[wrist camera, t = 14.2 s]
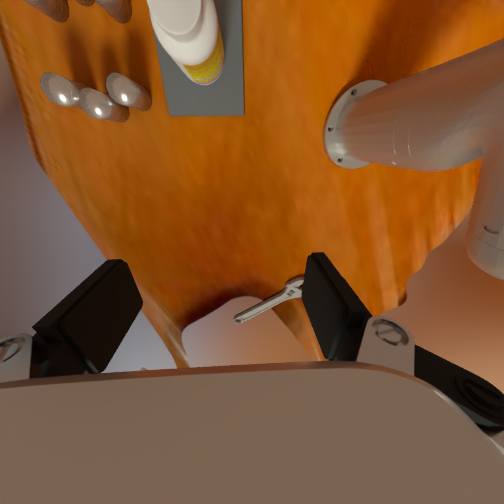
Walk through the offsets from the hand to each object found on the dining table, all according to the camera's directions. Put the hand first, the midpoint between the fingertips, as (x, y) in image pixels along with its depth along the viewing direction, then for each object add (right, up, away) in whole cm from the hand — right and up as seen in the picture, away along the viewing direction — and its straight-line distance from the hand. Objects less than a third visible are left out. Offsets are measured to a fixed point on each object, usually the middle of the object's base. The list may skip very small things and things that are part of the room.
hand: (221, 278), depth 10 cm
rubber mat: (-6, +30, +17) cm, 35 cm away
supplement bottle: (-6, +30, +17) cm, 35 cm away
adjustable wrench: (+6, -12, +43) cm, 45 cm away
